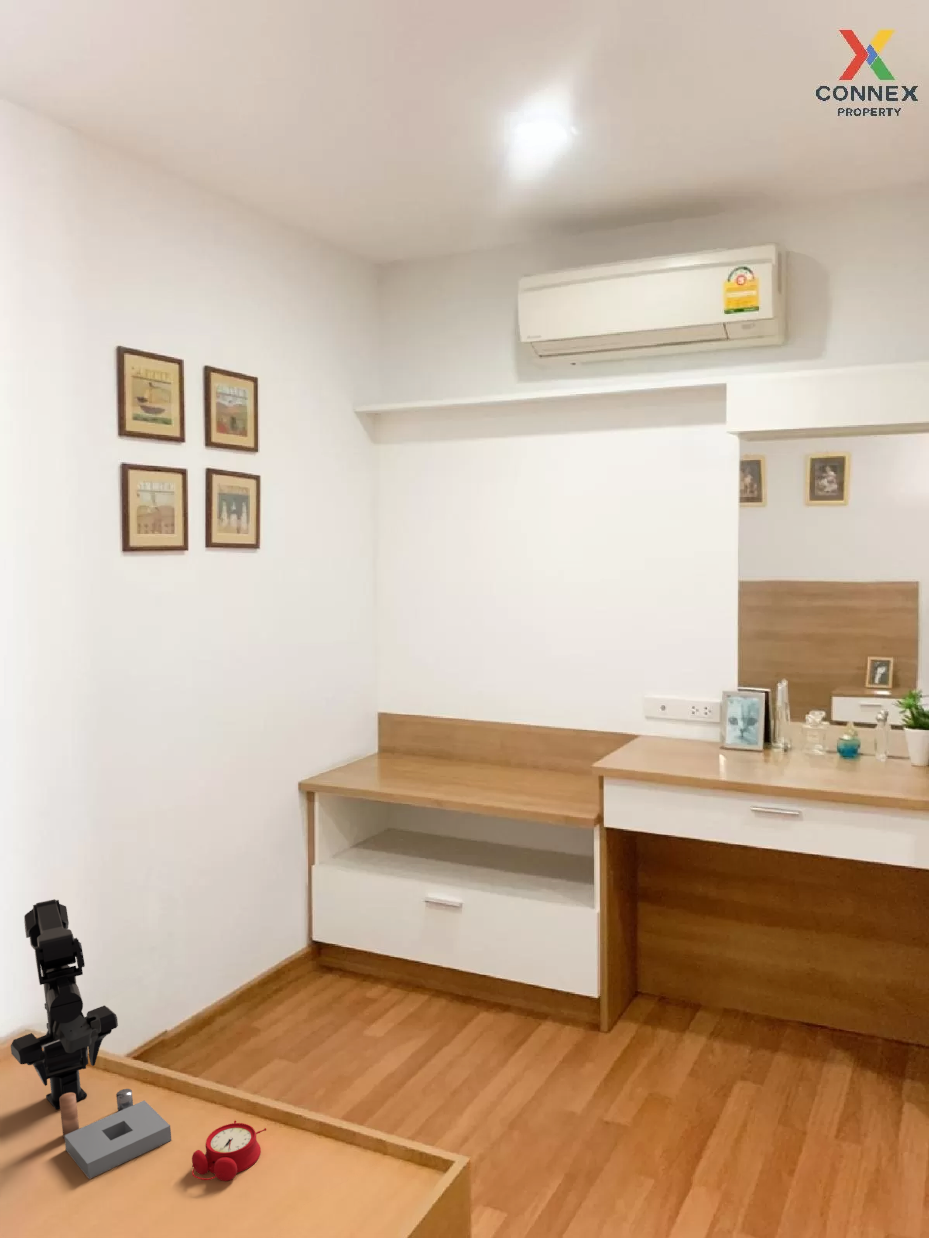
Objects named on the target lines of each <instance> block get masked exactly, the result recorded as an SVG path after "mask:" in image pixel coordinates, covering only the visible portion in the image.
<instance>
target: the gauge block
mask: <svg viewBox="0 0 929 1238" xmlns="http://www.w3.org/2000/svg"><path fill="white" fill-rule="evenodd" d="M171 1130H172V1129H171V1125H170V1124H169V1123H168V1121H166V1120H165V1119H164V1118H163V1117H162V1116H161V1115H160V1114H159V1113H158V1112H157V1111H156V1110H155V1109H154V1108H153V1107H152V1105H150V1104H149V1103H148V1102H147V1101H146V1100H141V1101H139V1102H137V1103H134V1104H133V1106H130V1107H128V1108H126V1109H123V1110H121V1111H119V1112H118V1111H117V1112H114V1113H112V1114H110V1115H107V1116H105V1117H103V1118H101V1119H98V1120H96V1121H94V1122H91V1123H90V1124H86V1125H85V1126H83V1127H79V1129H78V1130H75V1131H73V1132H71V1133H68V1134H66V1135H64V1137H65V1139H64V1145H65V1151H66V1153H67V1154H69V1155H68V1156H70V1157H71V1158H72V1160H73V1161H74V1162H75V1163H76V1165H77V1166H78V1167H79V1168H80V1171H82V1173H84V1175H85V1176H86V1177H87V1179H88V1180H90V1179H92V1178H94V1177H97V1176H99V1175H101V1174H103V1173H105V1172H107V1171H110V1170H112V1169H113V1168H116V1167H117V1166H120V1165H122V1164H124V1163H127V1162H128V1161H130V1160H131V1161H132V1160H133V1159H134V1158H137V1157H139V1156H141V1155H144V1154H145V1153H148V1152H150V1151H152V1150H154V1149H157V1148H158V1147H161V1146H163V1145H164V1144H167V1143H169V1142H171V1141H172V1131H171Z"/></svg>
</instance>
